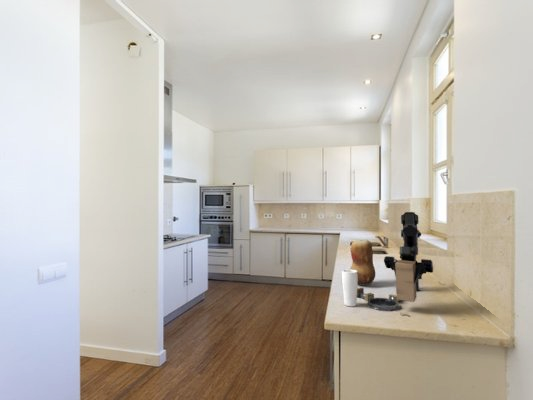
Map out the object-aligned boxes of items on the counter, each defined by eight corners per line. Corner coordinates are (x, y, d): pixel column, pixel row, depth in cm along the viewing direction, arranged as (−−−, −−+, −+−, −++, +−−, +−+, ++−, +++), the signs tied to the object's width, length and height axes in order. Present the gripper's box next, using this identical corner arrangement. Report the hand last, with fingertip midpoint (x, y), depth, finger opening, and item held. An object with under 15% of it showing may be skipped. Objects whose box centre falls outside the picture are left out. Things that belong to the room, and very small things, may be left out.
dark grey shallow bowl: (386, 299, 139) (386, 296, 139) (406, 309, 126) (406, 305, 126) (361, 302, 136) (361, 299, 136) (379, 312, 123) (378, 308, 123)
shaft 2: (398, 298, 141) (398, 289, 141) (406, 300, 138) (406, 291, 138) (388, 301, 136) (388, 292, 136) (396, 303, 133) (396, 294, 133)
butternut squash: (345, 283, 170) (344, 238, 171) (365, 281, 174) (364, 237, 175) (360, 289, 157) (359, 241, 157) (381, 287, 161) (380, 240, 162)
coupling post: (399, 294, 130) (398, 259, 129) (416, 296, 126) (415, 261, 125) (396, 299, 124) (395, 263, 124) (413, 302, 121) (412, 265, 120)
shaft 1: (355, 297, 144) (355, 288, 144) (362, 295, 145) (361, 287, 146) (367, 301, 136) (367, 293, 136) (374, 300, 138) (374, 291, 138)
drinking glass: (349, 308, 128) (349, 273, 128) (339, 304, 134) (338, 270, 134) (361, 306, 131) (360, 271, 131) (350, 301, 137) (349, 268, 137)
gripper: (384, 238, 134) (378, 267, 125) (431, 240, 123) (428, 272, 114) (389, 253, 140) (383, 282, 131) (434, 256, 130) (431, 288, 120)
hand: (405, 281), depth 124 cm, fingers closed on coupling post, 6 cm apart
